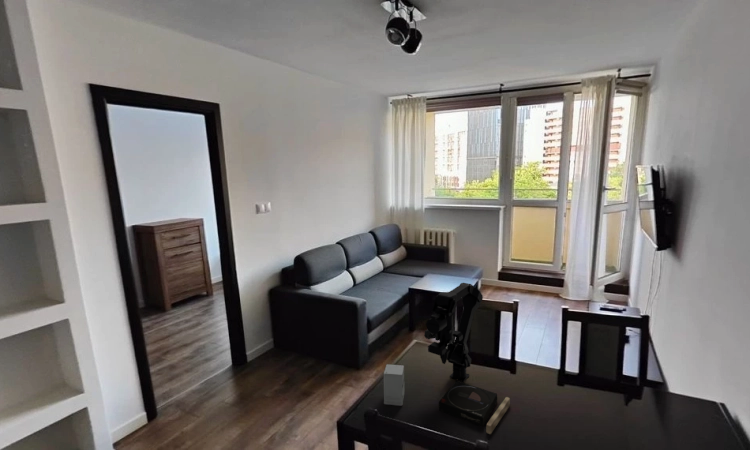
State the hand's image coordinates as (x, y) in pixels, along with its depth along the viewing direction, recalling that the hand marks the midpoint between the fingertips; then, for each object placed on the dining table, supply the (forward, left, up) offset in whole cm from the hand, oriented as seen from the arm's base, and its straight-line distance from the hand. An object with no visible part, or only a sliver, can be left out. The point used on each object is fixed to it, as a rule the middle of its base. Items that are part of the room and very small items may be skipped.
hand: (445, 361), depth 142 cm
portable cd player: (+4, +12, -13) cm, 18 cm away
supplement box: (+18, -13, -12) cm, 25 cm away
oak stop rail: (+5, +23, -12) cm, 27 cm away
